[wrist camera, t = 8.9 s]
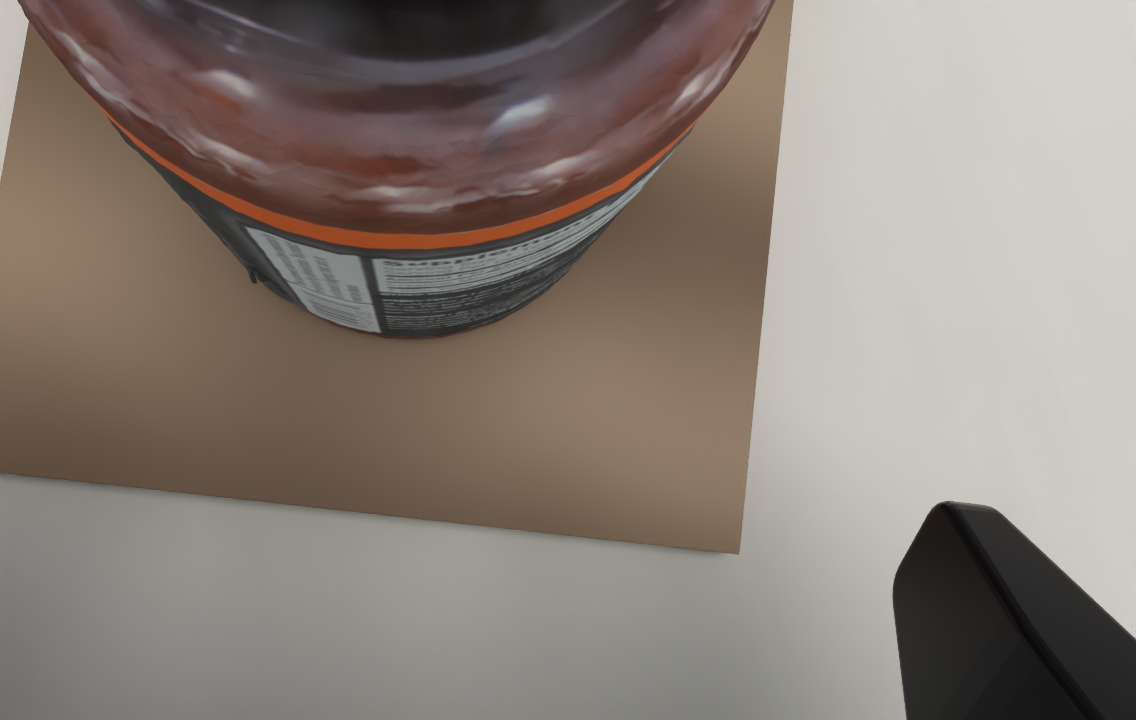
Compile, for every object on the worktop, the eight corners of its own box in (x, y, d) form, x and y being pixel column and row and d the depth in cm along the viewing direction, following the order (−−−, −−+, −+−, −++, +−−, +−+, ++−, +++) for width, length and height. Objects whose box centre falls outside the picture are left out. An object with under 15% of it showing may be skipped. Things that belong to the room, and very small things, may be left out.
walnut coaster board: (724, 550, 17) (739, 555, 16) (-27, 466, 15) (-51, 467, 15) (790, -120, 18) (808, -147, 17) (99, -254, 17) (83, -290, 16)
